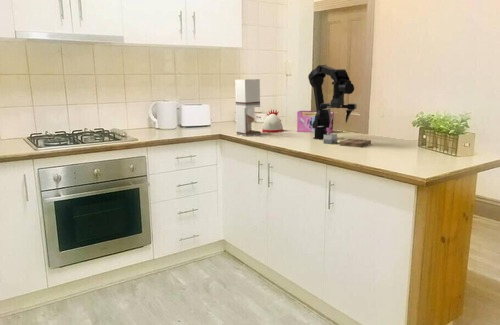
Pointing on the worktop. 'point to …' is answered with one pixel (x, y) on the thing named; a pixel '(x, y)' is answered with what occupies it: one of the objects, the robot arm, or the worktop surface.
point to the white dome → (272, 123)
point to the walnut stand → (355, 143)
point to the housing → (330, 138)
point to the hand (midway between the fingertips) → (337, 122)
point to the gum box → (310, 121)
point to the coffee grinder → (246, 105)
